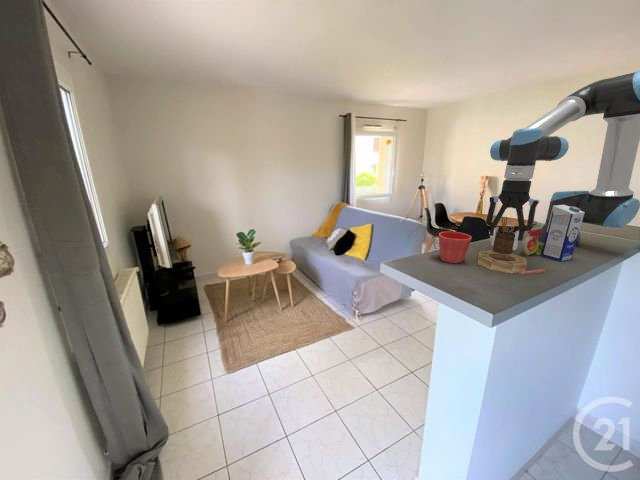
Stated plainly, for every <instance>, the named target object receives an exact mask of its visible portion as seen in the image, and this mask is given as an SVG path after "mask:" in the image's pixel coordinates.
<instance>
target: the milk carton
mask: <svg viewBox="0 0 640 480" xmlns="http://www.w3.org/2000/svg"><path fill="white" fill-rule="evenodd" d="M584 213H585V212H583V211H580V209H579V208H577V207H574V206H571V207H570V206H566V205H556V206H553V208H552V212H551V216H550V220H549V224H548V228H547V232H546V236H545V240H544V242H543V243H542V244H543V248H542V252H541V254H540V257H542V258H545V259H549V260H553V261H556V262H559V263H560V262H565V261H569V260H572V258H573V255H574V252H575V247H576V246H575V245H576V241H577V238H578V234H579V231H580V232H581V227H582V220H583V216H584Z"/></svg>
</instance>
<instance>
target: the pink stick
mask: <svg viewBox="0 0 640 480" xmlns="http://www.w3.org/2000/svg"><path fill="white" fill-rule="evenodd" d="M546 271H547V270H546V269H544V268H542V269H541V268H540V269H534V270H533V269H532V270H526V271H524V272H519V273H518V275H520V276H526V275H534V274H542V273H546Z"/></svg>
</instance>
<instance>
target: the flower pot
mask: <svg viewBox="0 0 640 480" xmlns="http://www.w3.org/2000/svg"><path fill="white" fill-rule="evenodd" d="M472 237H473V236H472V235H470V234H468V233H464V232H459V231H449V230H448V231H441V232H439V233H438V247H439V256H440V260H441V261H444V262H446V263H451V264H459V263H463V262H464V258H465V256H466V254H467V252H468V249H469V248H470V244H471V242H472V240H473V238H472Z"/></svg>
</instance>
